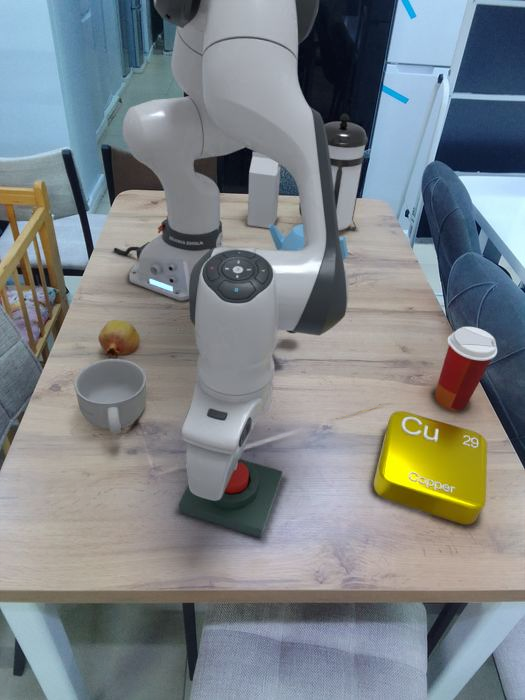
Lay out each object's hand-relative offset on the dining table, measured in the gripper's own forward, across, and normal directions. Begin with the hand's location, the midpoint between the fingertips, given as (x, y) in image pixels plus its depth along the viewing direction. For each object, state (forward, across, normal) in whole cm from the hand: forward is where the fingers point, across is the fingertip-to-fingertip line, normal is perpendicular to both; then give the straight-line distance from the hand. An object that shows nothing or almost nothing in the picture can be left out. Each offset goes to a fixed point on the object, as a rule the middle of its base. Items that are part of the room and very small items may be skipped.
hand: (233, 460), depth 68 cm
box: (+8, 0, 0) cm, 8 cm away
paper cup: (+8, -32, +30) cm, 45 cm away
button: (+5, 0, 0) cm, 5 cm away
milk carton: (+8, -87, -23) cm, 90 cm away
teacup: (+8, -7, -23) cm, 26 cm away
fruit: (+8, -23, -31) cm, 40 cm away
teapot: (+8, -69, -6) cm, 70 cm away
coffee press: (+8, -90, -5) cm, 91 cm away
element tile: (+8, -14, +27) cm, 31 cm away
